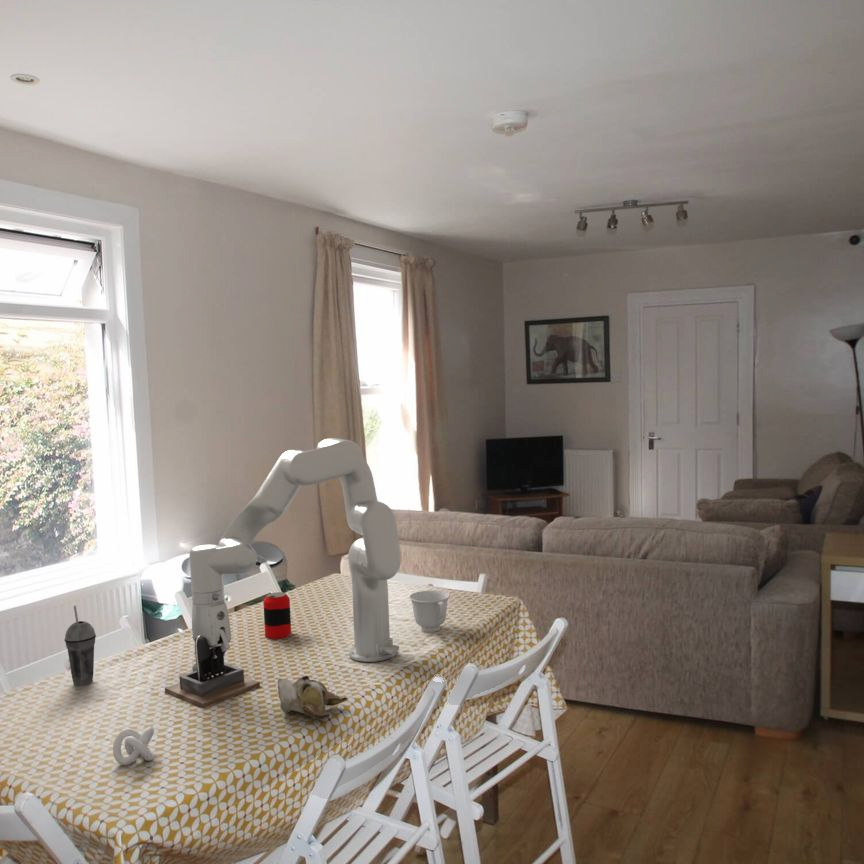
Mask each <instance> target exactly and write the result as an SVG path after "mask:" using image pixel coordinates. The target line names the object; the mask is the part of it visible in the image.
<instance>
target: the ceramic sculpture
mask: <svg viewBox="0 0 864 864" xmlns="http://www.w3.org/2000/svg"><path fill="white" fill-rule="evenodd" d="M277 694H278V698H279V701H280V710H281V711H282V712H283V713H284V714H288V713H289V711H290V712H292V711H295V712H297V713H301V714H304V715H307V716H309V718H311V719H313V720H321V719H327V718H330V714H329V713H328V712H327V710H326V706H327V707H332V706H333V707H334V706H336V705H339V704H342V703H344V702H346V701H348V697H346V696H345V697H340V696H339V695H337V694H335V693H333V692H332V691H328V689H327V687H326V686H325V685H324V683H323V682H321V681H319V680H317V679H316V680H315V679H310V677H309V676H308V675H305V676H304V675H303V676H301V677H299V678H298V679H297V680H296V681H295V682H294V681H292V680H290V679H285V678H284V679H282V678H280V677H279V678H277Z"/></svg>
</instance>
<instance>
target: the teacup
mask: <svg viewBox="0 0 864 864" xmlns="http://www.w3.org/2000/svg"><path fill="white" fill-rule="evenodd" d="M450 597H451V595H450V594H449V593H448V592H446V591H441V590H421V591H417V592H414V593H411V594H410V595H409V597H408V599H409V600H410V601H411V604H412V611H413V617H414V621H415V622H416V624H417V625H418V626H419V627H420V630H421V631H422V632H424V633H425V632H426V633H434V632H438V631H440V630H441V625H443V624H444V622H445V621H446V618H447V611H448V610H447V609H448V608H447V607H448V600H449V598H450Z"/></svg>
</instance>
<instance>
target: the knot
mask: <svg viewBox="0 0 864 864" xmlns="http://www.w3.org/2000/svg"><path fill="white" fill-rule="evenodd" d="M154 733H155V729H154V727H152V726H148V727H146V728H145V729H144V730H143V732H142V734H140V733H139V732H138V731H137V730H135V729H134V728H129V727H128V728H124V729H122V730H121V731H119V732H118V734H117V735H116V736H115V739H114V741H113V746H112V753H113V757H114V759H115V761H116V762H117V764H119V765H121V766H129V765H132V764H133V763H134V762H135V761H136V760H137V759H138V757H139V756H140V755H141V756H142V757H143V758H144V759H145V760H146V761H147V762H151V761H152V760H153V759H154V755H153V753H152V752H151V749H150V748H149V747H148V745H149V743H150V742H151V740H152V738H153V736H154ZM123 740H124V748H125V751H126V753H127V754H128V756H127V757H125V756H124V754H123V753H122V743H123Z"/></svg>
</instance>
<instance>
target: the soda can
mask: <svg viewBox="0 0 864 864" xmlns="http://www.w3.org/2000/svg"><path fill="white" fill-rule="evenodd" d="M262 603H263V618H264V619H263V624H264V636H265V637H266V638H267V639H270V640H280V639H286V638H287V636H288V637H289V636H290V635H291V634H292V622H291V620H292V619H291V617H292V616H291V602H290V597H289V596H288V594H287V593H286V592H281V591H280V592H278V591H277V592H270V593H268V594H266V595H265V597H264V599H263V602H262Z"/></svg>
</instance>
